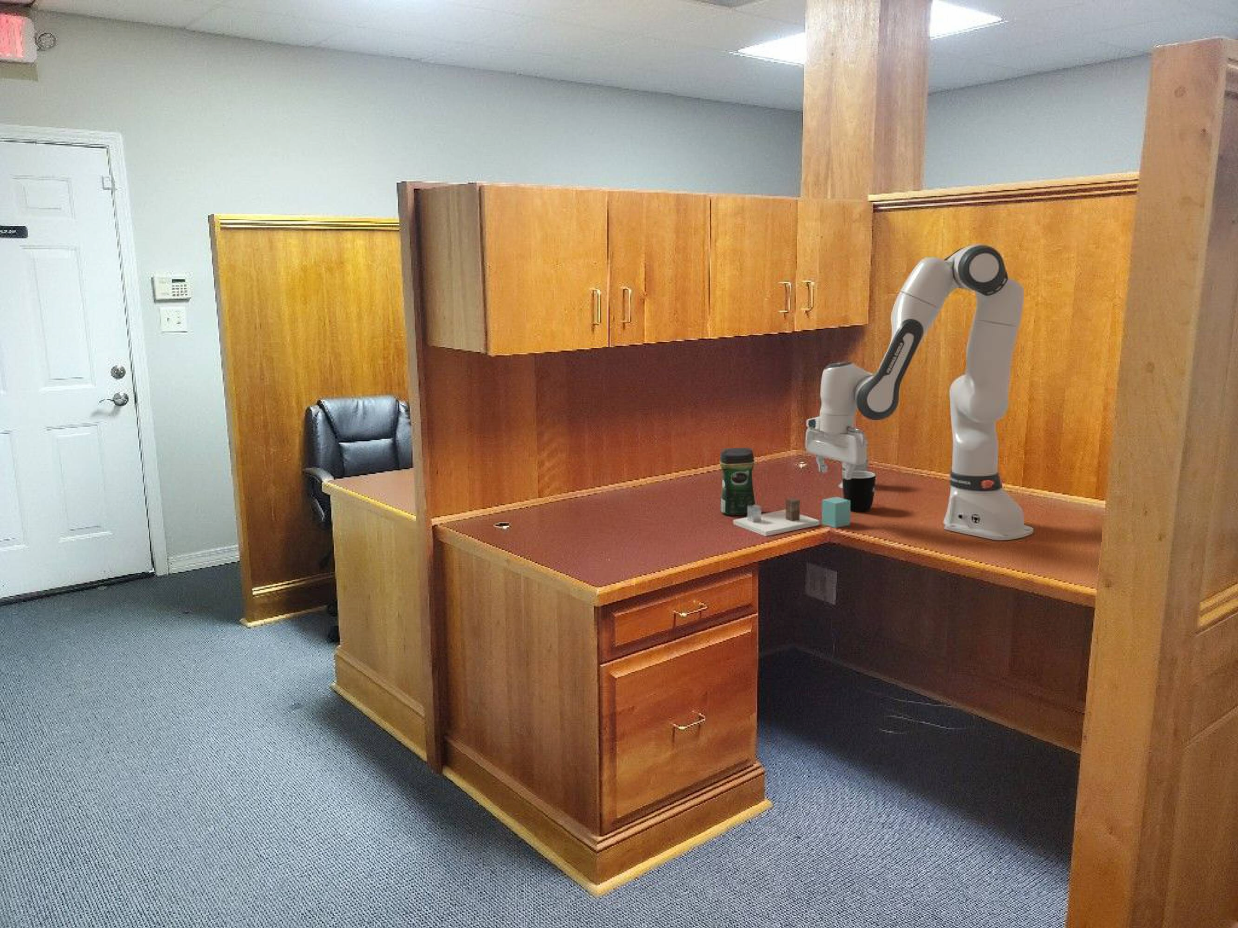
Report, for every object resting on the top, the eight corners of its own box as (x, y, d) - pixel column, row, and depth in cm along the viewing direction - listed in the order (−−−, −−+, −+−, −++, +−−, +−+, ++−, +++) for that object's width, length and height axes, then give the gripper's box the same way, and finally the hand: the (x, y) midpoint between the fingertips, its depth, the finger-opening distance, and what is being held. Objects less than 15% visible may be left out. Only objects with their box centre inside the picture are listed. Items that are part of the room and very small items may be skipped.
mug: (877, 513, 269) (878, 477, 266) (844, 513, 269) (844, 478, 267) (869, 502, 280) (870, 468, 278) (838, 502, 281) (838, 468, 279)
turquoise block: (850, 524, 259) (850, 500, 257) (835, 527, 256) (835, 503, 255) (836, 520, 263) (837, 496, 262) (821, 523, 261) (822, 499, 259)
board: (819, 524, 259) (819, 520, 259) (765, 536, 251) (765, 531, 251) (785, 513, 271) (785, 509, 271) (733, 524, 263) (733, 519, 263)
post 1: (761, 521, 261) (761, 506, 260) (753, 522, 259) (753, 508, 258) (755, 518, 263) (755, 504, 262) (747, 520, 262) (747, 506, 261)
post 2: (799, 519, 261) (799, 499, 259) (791, 521, 259) (792, 501, 258) (793, 517, 263) (793, 497, 262) (785, 519, 262) (785, 499, 260)
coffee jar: (751, 508, 278) (751, 444, 275) (757, 515, 271) (757, 450, 267) (718, 509, 278) (717, 446, 274) (723, 517, 270) (722, 451, 266)
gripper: (874, 428, 247) (871, 481, 249) (820, 417, 264) (818, 467, 267) (855, 431, 243) (853, 484, 246) (802, 419, 261) (800, 469, 264)
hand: (834, 475), depth 257 cm, fingers open, 8 cm apart
